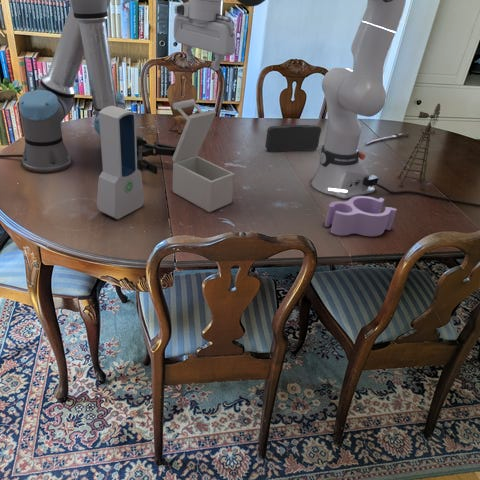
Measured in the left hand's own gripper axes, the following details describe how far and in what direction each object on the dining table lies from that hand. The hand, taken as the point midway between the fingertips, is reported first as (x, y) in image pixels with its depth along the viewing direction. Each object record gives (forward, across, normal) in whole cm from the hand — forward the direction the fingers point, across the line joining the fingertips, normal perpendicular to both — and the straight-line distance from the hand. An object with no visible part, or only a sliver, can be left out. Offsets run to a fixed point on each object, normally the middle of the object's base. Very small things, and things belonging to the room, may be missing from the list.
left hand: (172, 164), depth 154 cm
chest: (+14, 0, -6) cm, 15 cm away
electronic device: (+5, +24, -6) cm, 25 cm away
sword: (+27, -105, -6) cm, 109 cm away
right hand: (+12, 0, +34) cm, 36 cm away
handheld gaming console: (+8, -58, -6) cm, 59 cm away
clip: (+57, -24, -6) cm, 63 cm away
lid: (+10, 0, +12) cm, 16 cm away
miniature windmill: (+55, -69, -6) cm, 88 cm away
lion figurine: (-32, -37, -6) cm, 49 cm away
